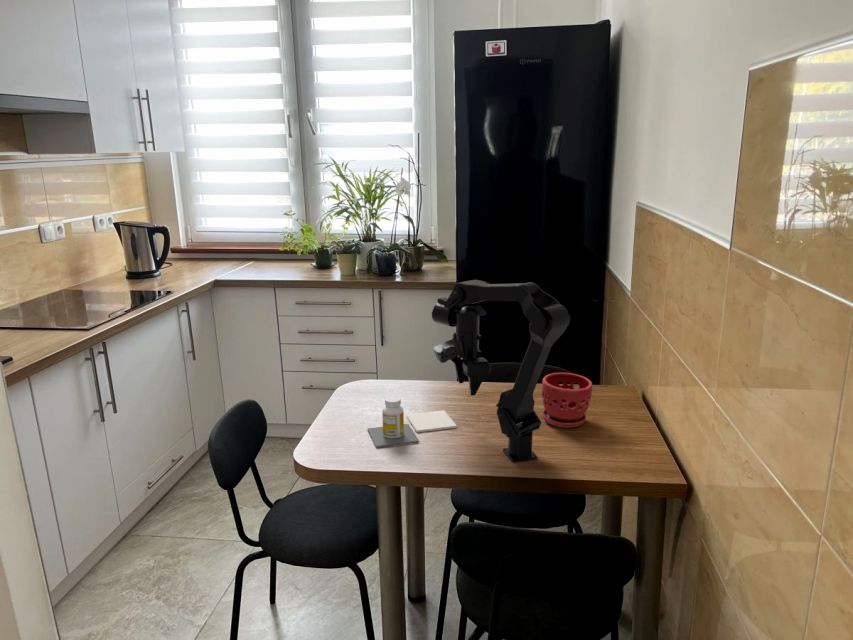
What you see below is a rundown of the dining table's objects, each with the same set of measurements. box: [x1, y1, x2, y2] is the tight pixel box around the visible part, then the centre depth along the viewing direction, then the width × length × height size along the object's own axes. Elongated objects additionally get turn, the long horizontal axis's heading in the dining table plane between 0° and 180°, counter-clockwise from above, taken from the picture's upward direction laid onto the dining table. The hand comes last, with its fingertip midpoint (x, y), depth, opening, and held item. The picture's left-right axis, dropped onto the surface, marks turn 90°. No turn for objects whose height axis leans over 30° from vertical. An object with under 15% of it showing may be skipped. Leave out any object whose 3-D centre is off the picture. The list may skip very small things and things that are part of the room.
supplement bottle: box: [381, 396, 405, 438], centre depth 163 cm, size 5×5×10 cm
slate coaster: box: [367, 423, 420, 449], centre depth 165 cm, size 11×11×1 cm
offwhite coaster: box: [406, 409, 458, 433], centre depth 174 cm, size 11×11×1 cm
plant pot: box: [541, 372, 593, 428], centre depth 172 cm, size 13×13×12 cm
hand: (466, 389), depth 164 cm, fingers open, 9 cm apart
